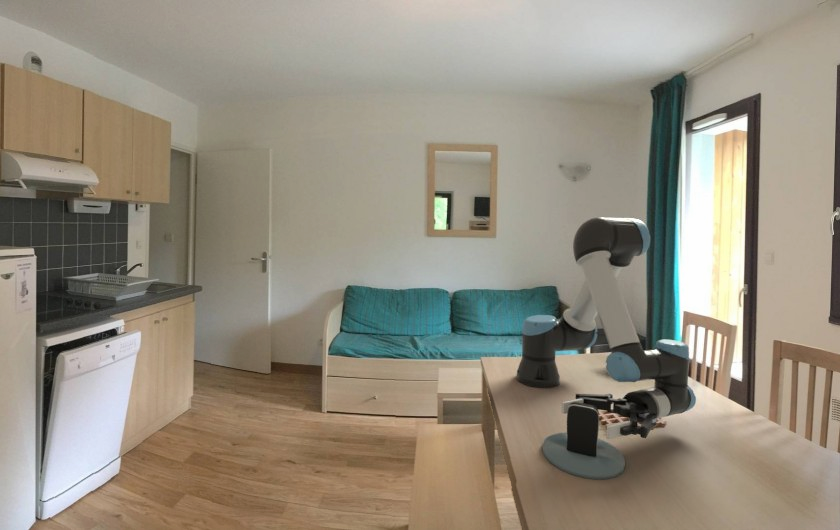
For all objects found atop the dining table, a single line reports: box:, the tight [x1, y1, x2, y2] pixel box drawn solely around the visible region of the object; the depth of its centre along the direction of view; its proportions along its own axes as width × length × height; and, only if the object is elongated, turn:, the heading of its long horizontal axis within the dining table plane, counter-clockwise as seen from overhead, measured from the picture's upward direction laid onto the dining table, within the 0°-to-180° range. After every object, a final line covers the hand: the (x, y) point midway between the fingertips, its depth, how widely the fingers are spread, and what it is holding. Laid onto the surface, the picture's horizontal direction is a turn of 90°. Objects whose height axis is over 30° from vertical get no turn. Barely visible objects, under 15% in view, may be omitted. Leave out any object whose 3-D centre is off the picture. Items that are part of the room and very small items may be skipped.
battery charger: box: [566, 402, 600, 457], centre depth 93 cm, size 7×4×11 cm, turn 63°
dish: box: [542, 432, 626, 480], centre depth 94 cm, size 18×18×1 cm
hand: (583, 419), depth 93 cm, fingers open, 13 cm apart
